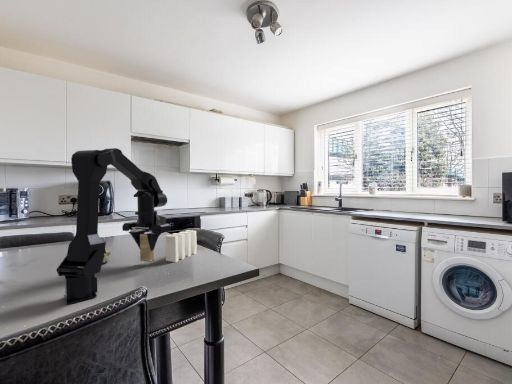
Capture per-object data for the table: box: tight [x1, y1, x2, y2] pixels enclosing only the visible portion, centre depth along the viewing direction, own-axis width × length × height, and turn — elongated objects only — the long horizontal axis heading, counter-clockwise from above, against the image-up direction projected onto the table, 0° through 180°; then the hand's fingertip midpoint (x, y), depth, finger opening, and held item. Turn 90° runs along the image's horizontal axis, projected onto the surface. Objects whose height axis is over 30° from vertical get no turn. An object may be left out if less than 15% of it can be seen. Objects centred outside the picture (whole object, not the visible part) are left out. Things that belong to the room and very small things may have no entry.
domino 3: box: [171, 232, 186, 260], centre depth 104 cm, size 2×5×10 cm, turn 68°
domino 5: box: [184, 229, 198, 255], centre depth 111 cm, size 2×5×10 cm, turn 68°
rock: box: [77, 247, 111, 269], centre depth 96 cm, size 11×6×10 cm
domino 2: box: [164, 234, 180, 263], centre depth 100 cm, size 2×5×10 cm, turn 68°
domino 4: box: [178, 231, 192, 258], centre depth 108 cm, size 2×5×10 cm, turn 68°
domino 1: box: [139, 233, 155, 263], centre depth 96 cm, size 2×5×10 cm, turn 68°
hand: (146, 250), depth 96 cm, fingers closed on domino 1, 5 cm apart
